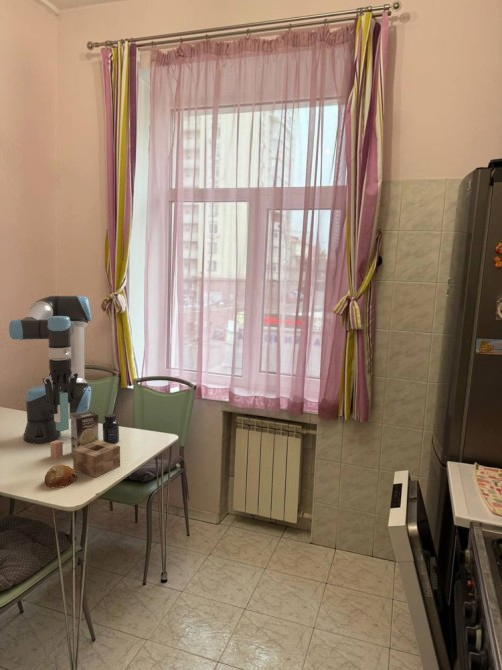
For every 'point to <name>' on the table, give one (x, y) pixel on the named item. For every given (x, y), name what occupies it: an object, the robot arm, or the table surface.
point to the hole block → (96, 458)
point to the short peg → (56, 449)
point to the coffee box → (83, 429)
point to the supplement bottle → (110, 429)
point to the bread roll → (60, 476)
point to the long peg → (63, 412)
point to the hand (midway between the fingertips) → (62, 420)
